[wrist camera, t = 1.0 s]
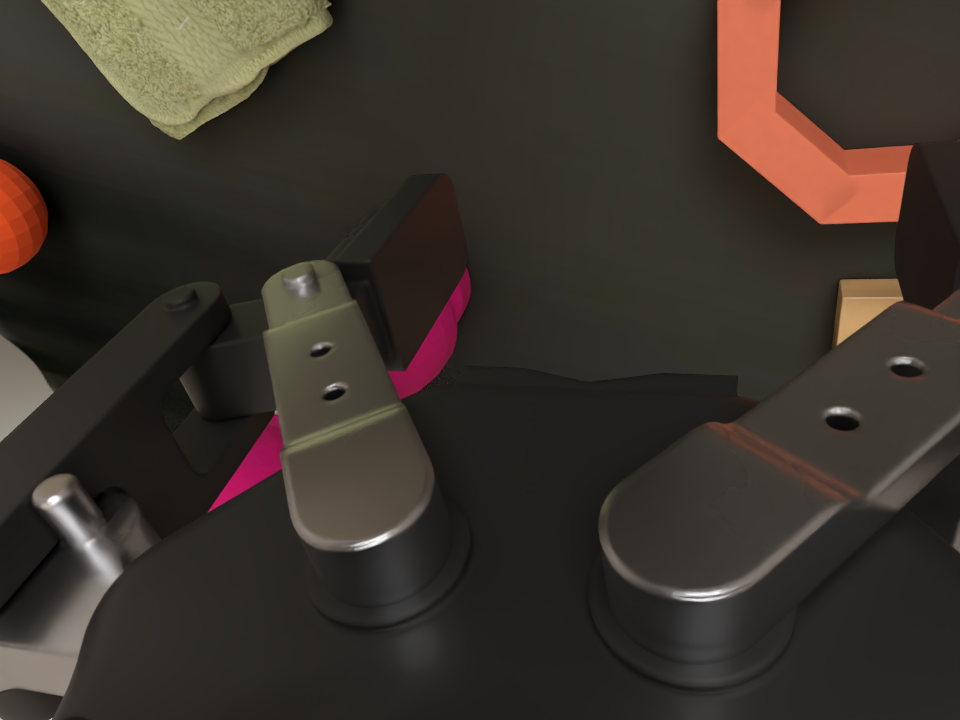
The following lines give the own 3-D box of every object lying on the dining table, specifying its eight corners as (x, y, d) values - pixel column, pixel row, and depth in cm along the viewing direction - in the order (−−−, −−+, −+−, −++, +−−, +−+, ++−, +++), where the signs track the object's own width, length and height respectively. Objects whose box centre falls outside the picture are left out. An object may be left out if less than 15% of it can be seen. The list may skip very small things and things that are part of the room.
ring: (720, -162, 23) (716, -156, 22) (1240, -276, 19) (1289, -279, 17) (720, 201, 31) (717, 228, 29) (1090, 183, 26) (1113, 214, 25)
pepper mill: (496, 247, 36) (312, 585, 21) (463, 348, 41) (294, 679, 26) (364, 194, 36) (93, 491, 22) (347, 301, 41) (116, 601, 26)
